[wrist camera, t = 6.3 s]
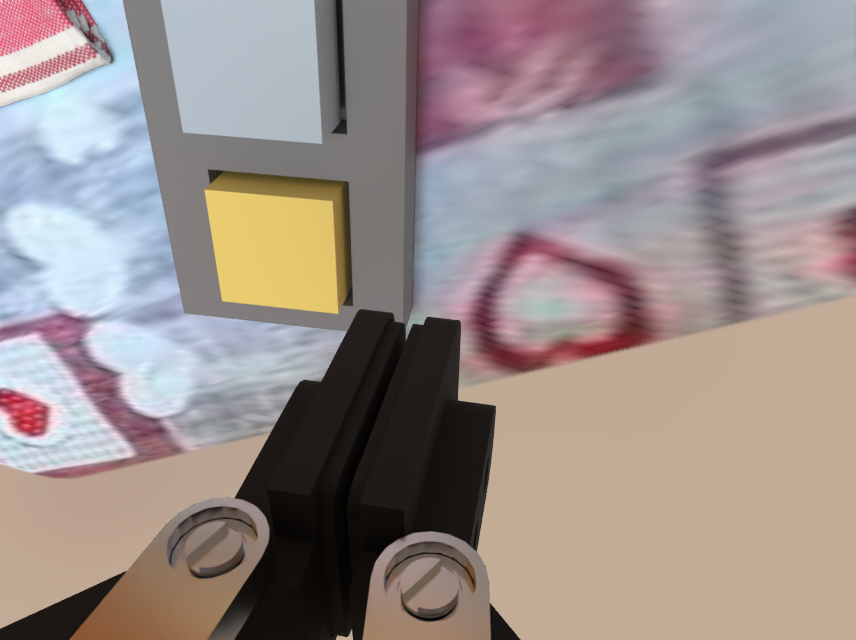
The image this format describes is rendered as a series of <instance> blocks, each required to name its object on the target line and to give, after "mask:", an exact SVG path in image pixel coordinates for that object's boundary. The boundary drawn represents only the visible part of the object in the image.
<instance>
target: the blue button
mask: <svg viewBox="0 0 856 640" xmlns="http://www.w3.org/2000/svg"><path fill="white" fill-rule="evenodd" d="M161 6H162V12H163V17H164V23H165V29H166V35H167V41H168V47H169V53H170V59H171V65H172V71H173V77H174V83H175V89H176V94H177V100H178V106H179V112H180V118H181V124H182V130H183V133H195V134H207V135H219V136H232V137H244V138H256V139H268V140H280V141H292V142H305V143H317V144H323V142H324V141H325V140H326V139H327V138H328V136H329V135H330V134H331V133H332V132H333V130H334V129H335V128H336V127H337V126H338V124H339V123H340V122H341V112H340V87H339V62H338V37H337V13H336V0H161Z"/></svg>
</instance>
